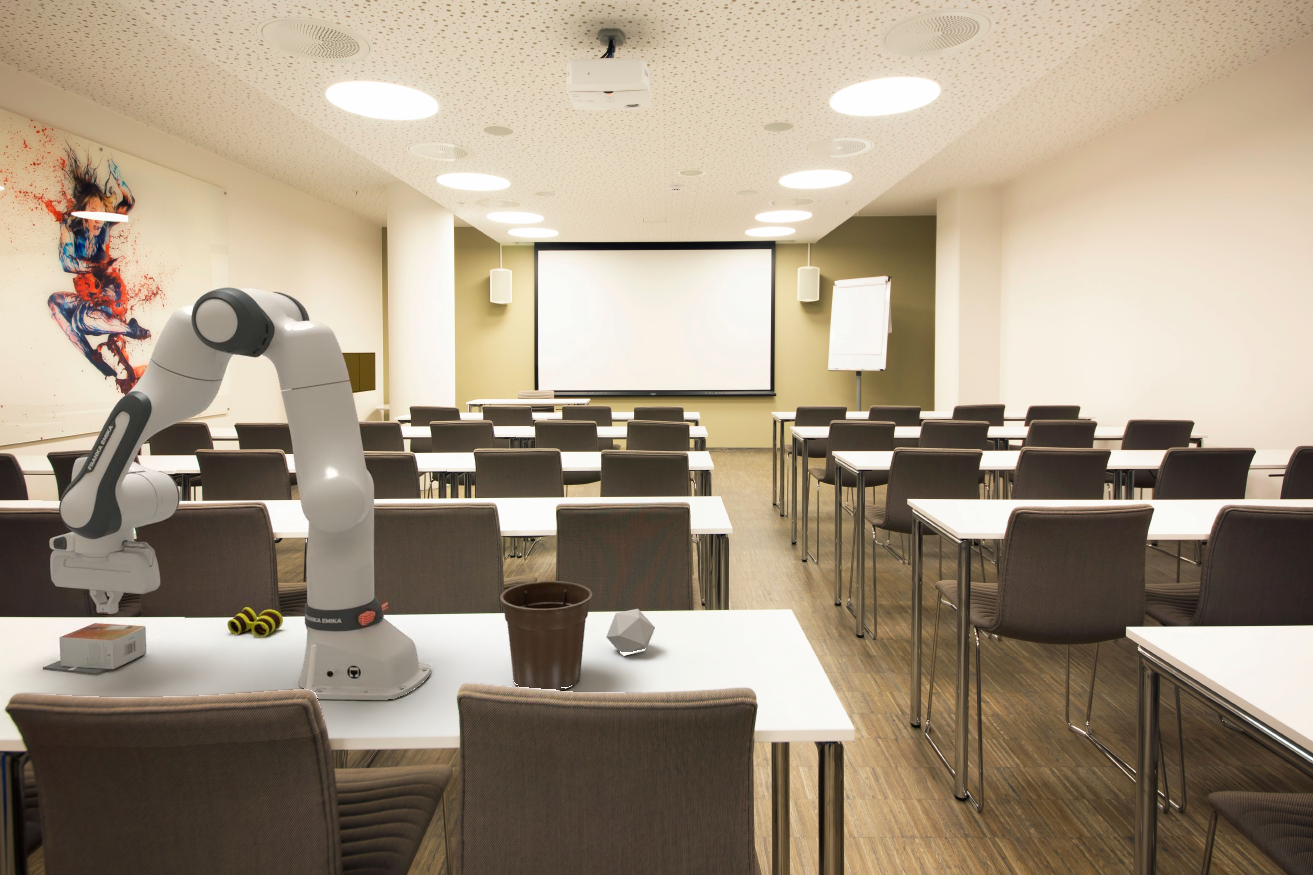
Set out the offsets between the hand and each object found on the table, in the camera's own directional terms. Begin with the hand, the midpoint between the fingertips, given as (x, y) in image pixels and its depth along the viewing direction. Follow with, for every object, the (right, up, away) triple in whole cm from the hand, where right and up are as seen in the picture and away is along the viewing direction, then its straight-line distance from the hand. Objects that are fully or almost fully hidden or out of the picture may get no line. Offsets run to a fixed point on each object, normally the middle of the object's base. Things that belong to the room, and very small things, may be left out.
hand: (107, 612), depth 135 cm
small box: (+4, -7, +1) cm, 8 cm away
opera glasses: (+17, -9, +18) cm, 27 cm away
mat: (-3, -10, +1) cm, 10 cm away
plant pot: (+81, -12, -2) cm, 82 cm away
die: (+96, -11, +12) cm, 98 cm away
